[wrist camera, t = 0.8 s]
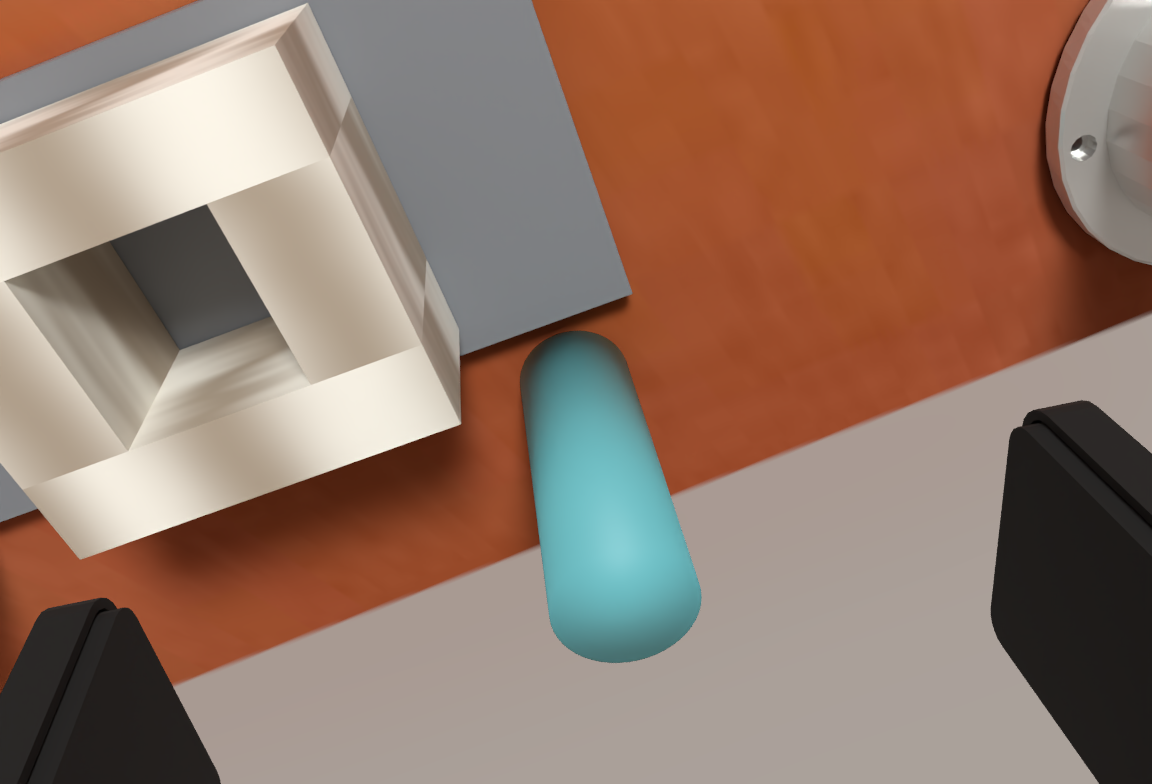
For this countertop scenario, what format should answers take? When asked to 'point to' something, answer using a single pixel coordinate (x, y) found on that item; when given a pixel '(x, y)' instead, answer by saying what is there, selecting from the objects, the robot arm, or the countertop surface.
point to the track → (389, 165)
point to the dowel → (603, 505)
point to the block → (268, 255)
